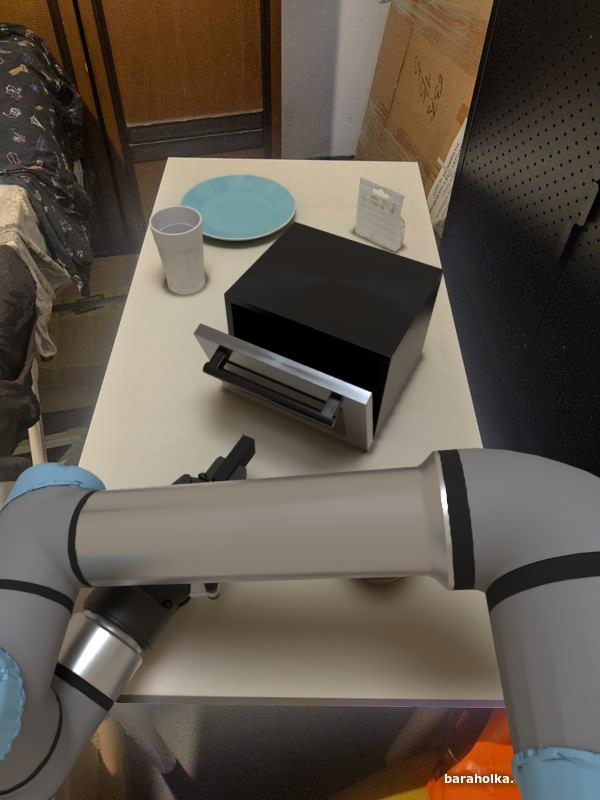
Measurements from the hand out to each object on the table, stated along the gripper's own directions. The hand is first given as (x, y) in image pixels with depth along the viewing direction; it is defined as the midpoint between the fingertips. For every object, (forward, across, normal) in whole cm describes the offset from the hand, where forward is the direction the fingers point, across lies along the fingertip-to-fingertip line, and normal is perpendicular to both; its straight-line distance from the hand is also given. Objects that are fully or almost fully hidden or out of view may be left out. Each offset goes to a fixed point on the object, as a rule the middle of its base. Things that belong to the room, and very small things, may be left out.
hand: (249, 443), depth 63 cm
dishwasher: (+22, 0, -8) cm, 23 cm away
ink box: (+55, -6, -8) cm, 56 cm away
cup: (+28, -30, -8) cm, 41 cm away
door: (+10, 0, -8) cm, 13 cm away
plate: (+49, -33, -8) cm, 59 cm away
